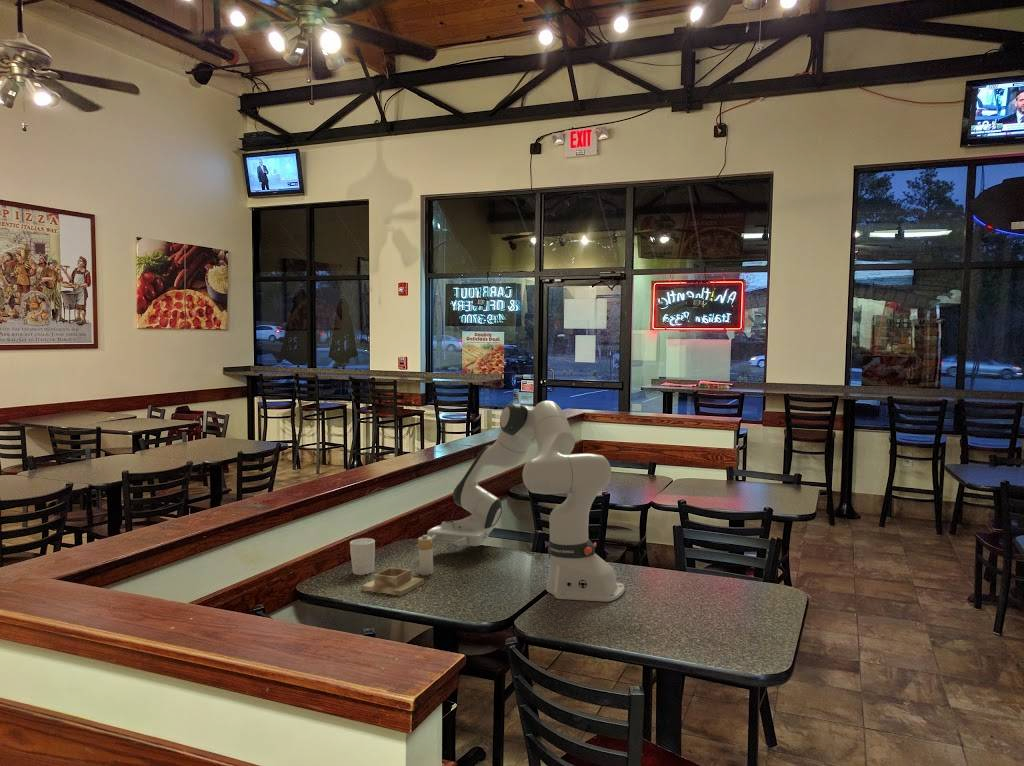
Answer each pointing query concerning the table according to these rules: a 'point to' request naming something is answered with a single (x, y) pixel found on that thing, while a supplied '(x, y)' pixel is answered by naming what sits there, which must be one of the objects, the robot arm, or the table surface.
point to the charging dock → (393, 582)
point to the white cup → (362, 555)
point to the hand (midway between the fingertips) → (443, 542)
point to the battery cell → (425, 555)
